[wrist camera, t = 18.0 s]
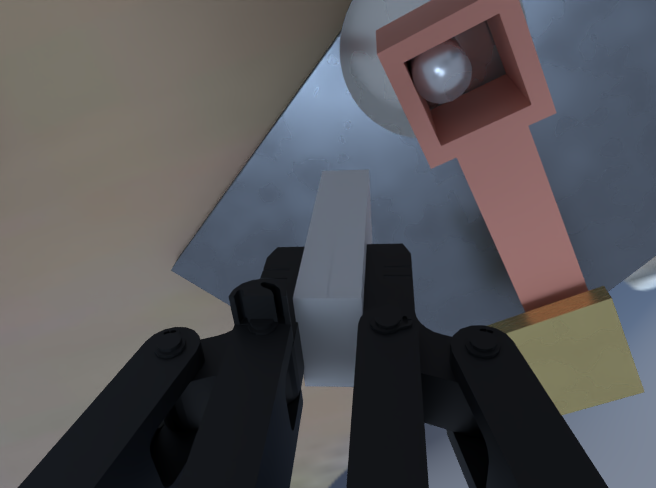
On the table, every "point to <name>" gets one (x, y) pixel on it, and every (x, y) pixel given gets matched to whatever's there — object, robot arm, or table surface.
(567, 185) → the plate
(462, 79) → the pintle
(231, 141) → the table surface
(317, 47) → the table surface
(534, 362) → the block
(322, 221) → the robot arm
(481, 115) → the link
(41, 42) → the table surface
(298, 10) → the table surface
